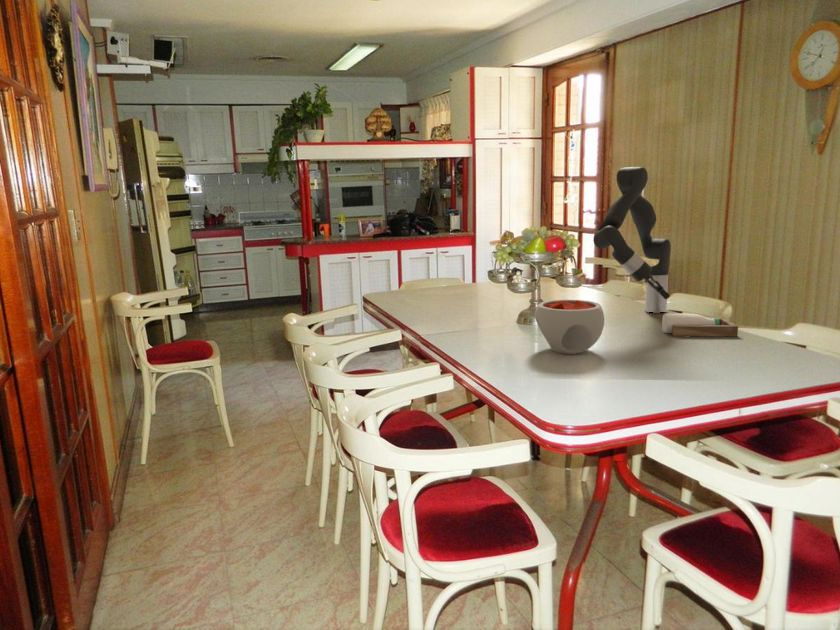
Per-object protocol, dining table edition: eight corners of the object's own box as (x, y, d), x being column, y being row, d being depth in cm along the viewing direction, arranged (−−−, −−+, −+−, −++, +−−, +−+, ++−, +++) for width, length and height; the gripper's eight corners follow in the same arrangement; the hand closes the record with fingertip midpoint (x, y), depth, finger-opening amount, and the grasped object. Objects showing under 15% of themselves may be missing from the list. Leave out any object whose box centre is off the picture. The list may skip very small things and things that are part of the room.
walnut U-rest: (664, 328, 254) (664, 318, 254) (724, 328, 251) (725, 318, 250) (673, 336, 240) (673, 326, 239) (737, 336, 236) (738, 326, 236)
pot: (616, 349, 224) (617, 300, 220) (580, 364, 207) (581, 311, 204) (557, 339, 241) (558, 294, 237) (520, 352, 224) (520, 303, 220)
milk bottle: (664, 336, 244) (719, 337, 241) (667, 318, 240) (722, 319, 238) (660, 327, 250) (713, 328, 248) (663, 309, 247) (716, 310, 244)
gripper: (647, 261, 237) (679, 293, 237) (640, 257, 249) (671, 288, 250) (632, 275, 238) (664, 307, 239) (625, 271, 251) (656, 301, 252)
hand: (667, 297), depth 244 cm, fingers closed
